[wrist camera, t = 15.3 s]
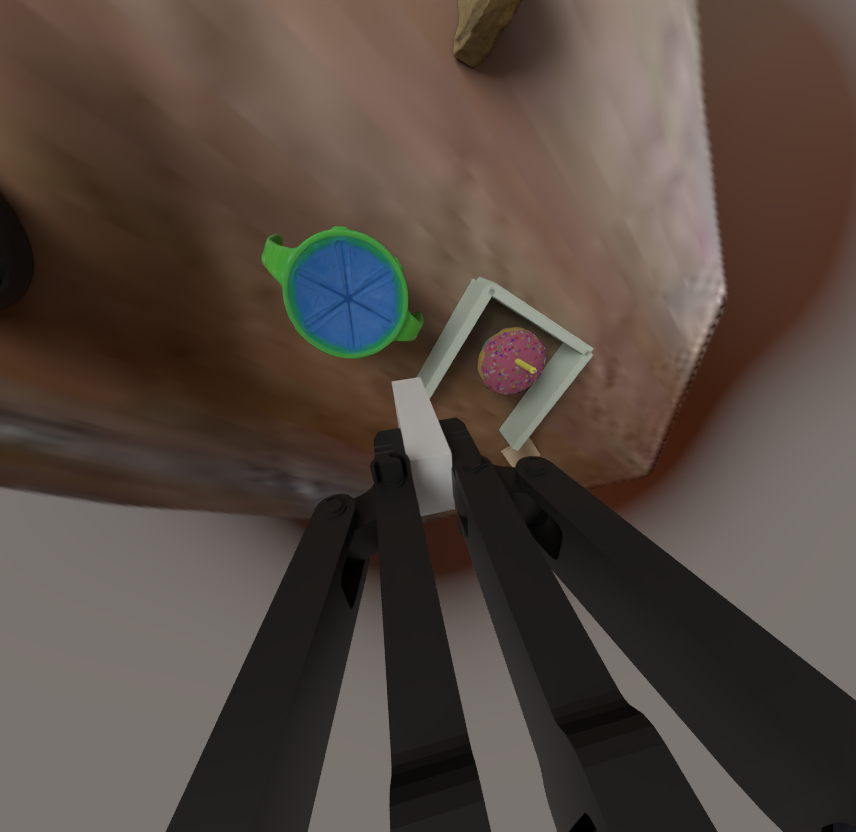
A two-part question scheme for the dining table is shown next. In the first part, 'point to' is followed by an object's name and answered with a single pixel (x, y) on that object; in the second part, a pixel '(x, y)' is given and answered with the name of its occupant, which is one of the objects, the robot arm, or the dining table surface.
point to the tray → (542, 391)
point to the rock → (481, 27)
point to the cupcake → (511, 360)
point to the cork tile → (520, 452)
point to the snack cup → (343, 292)
